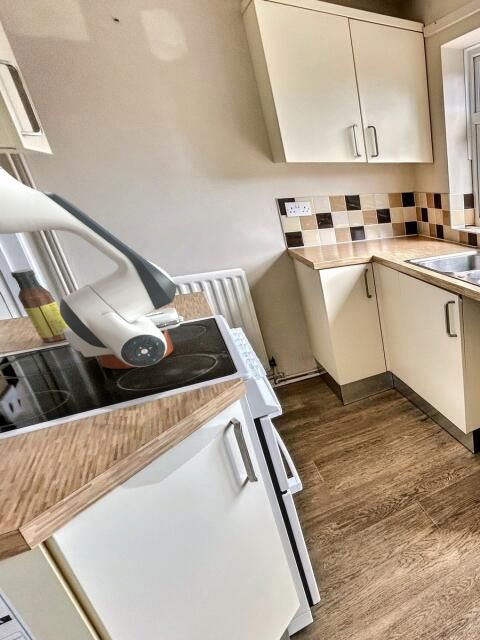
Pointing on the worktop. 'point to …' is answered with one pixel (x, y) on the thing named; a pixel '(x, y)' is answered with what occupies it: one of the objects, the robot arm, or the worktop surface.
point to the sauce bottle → (40, 306)
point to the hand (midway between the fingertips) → (121, 319)
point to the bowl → (115, 363)
